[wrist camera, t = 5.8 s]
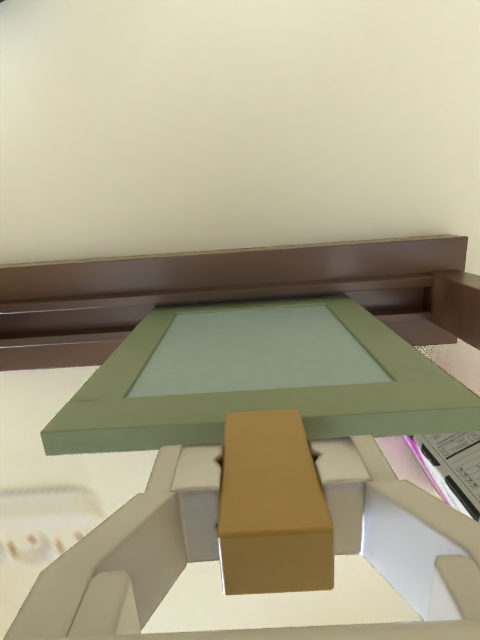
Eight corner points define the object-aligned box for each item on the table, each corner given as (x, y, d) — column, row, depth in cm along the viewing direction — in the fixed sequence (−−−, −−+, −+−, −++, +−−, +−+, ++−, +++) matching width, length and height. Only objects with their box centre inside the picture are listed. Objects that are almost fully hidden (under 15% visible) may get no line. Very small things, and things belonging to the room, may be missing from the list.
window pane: (346, 311, 24) (632, 578, 6) (155, 323, 24) (-63, 611, 7) (347, 289, 23) (652, 513, 6) (152, 302, 24) (-87, 551, 6)
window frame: (441, 334, 26) (763, 530, 10) (-25, 363, 27) (-424, 592, 11) (450, 234, 25) (868, 280, 8) (-53, 268, 25) (-591, 373, 9)
